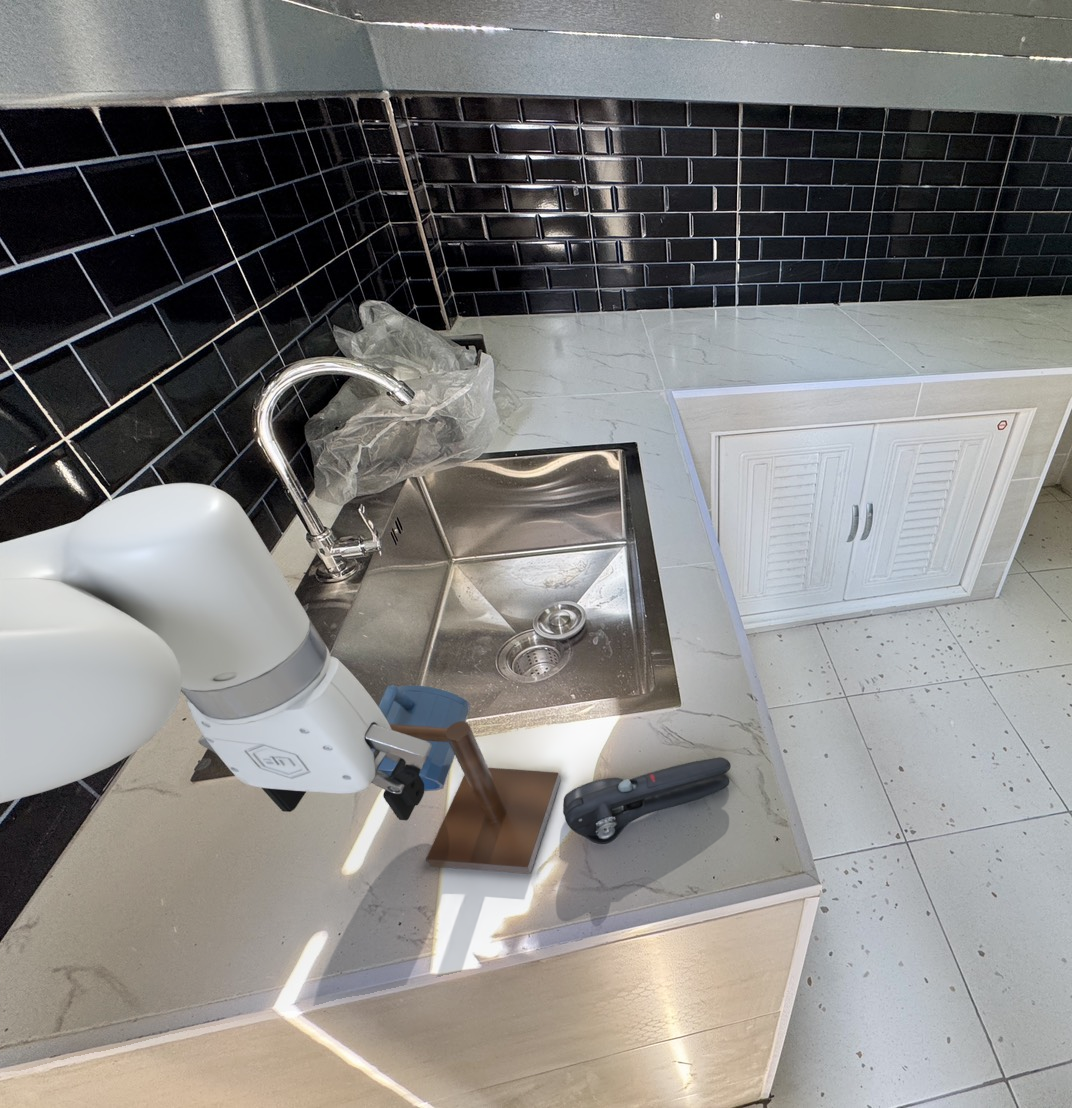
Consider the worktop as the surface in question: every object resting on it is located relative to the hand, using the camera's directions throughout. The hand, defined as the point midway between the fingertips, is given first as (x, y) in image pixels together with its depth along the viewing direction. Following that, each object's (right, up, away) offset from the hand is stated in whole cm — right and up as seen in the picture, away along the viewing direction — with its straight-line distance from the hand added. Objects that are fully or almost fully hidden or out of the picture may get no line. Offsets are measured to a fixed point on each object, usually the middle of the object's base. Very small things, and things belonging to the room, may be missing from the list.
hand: (356, 799), depth 50 cm
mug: (+1, +7, +9) cm, 12 cm away
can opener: (+23, -6, +14) cm, 27 cm away
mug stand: (+4, -7, +12) cm, 15 cm away
